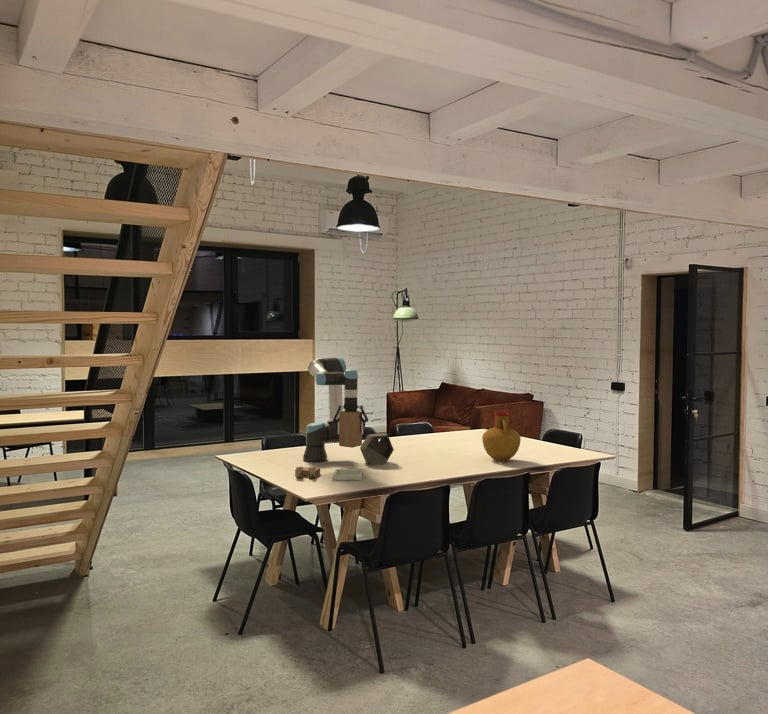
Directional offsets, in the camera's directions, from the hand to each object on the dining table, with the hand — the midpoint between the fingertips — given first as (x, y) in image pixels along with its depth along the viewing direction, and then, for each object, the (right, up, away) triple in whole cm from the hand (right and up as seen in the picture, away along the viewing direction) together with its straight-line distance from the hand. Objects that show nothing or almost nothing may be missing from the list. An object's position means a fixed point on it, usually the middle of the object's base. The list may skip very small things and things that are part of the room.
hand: (350, 433), depth 381 cm
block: (0, -7, +1) cm, 7 cm away
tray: (-1, -23, -14) cm, 27 cm away
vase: (+93, -22, +39) cm, 103 cm away
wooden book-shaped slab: (-24, -23, -9) cm, 34 cm away
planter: (+15, -21, +27) cm, 38 cm away
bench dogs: (-24, -23, -17) cm, 37 cm away
